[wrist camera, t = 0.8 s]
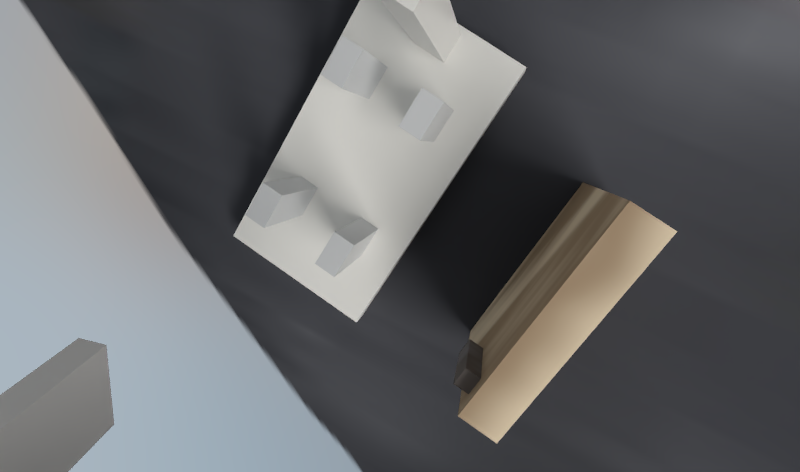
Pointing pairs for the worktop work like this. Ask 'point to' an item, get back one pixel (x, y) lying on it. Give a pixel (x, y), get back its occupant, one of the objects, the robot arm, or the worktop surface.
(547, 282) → the oak door
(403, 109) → the white holder stand
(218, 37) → the worktop surface
